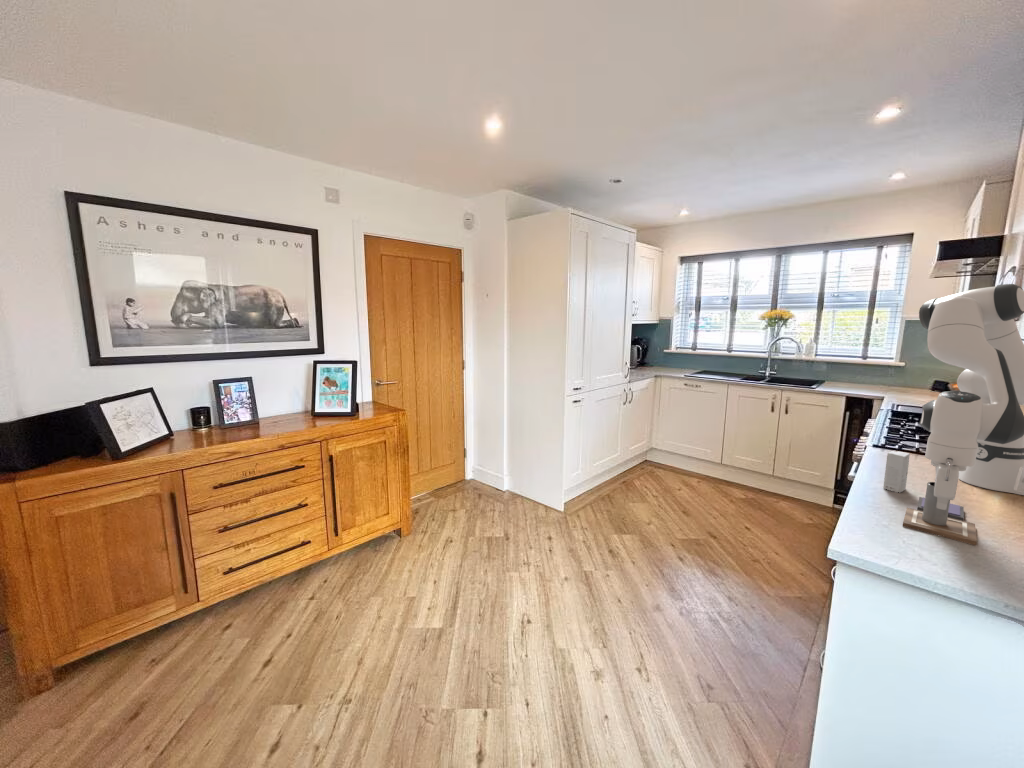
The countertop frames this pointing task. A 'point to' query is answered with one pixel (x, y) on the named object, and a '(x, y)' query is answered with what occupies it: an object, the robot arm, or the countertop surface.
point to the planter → (933, 508)
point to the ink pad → (953, 512)
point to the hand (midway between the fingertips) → (941, 504)
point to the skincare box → (896, 471)
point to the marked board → (942, 527)
